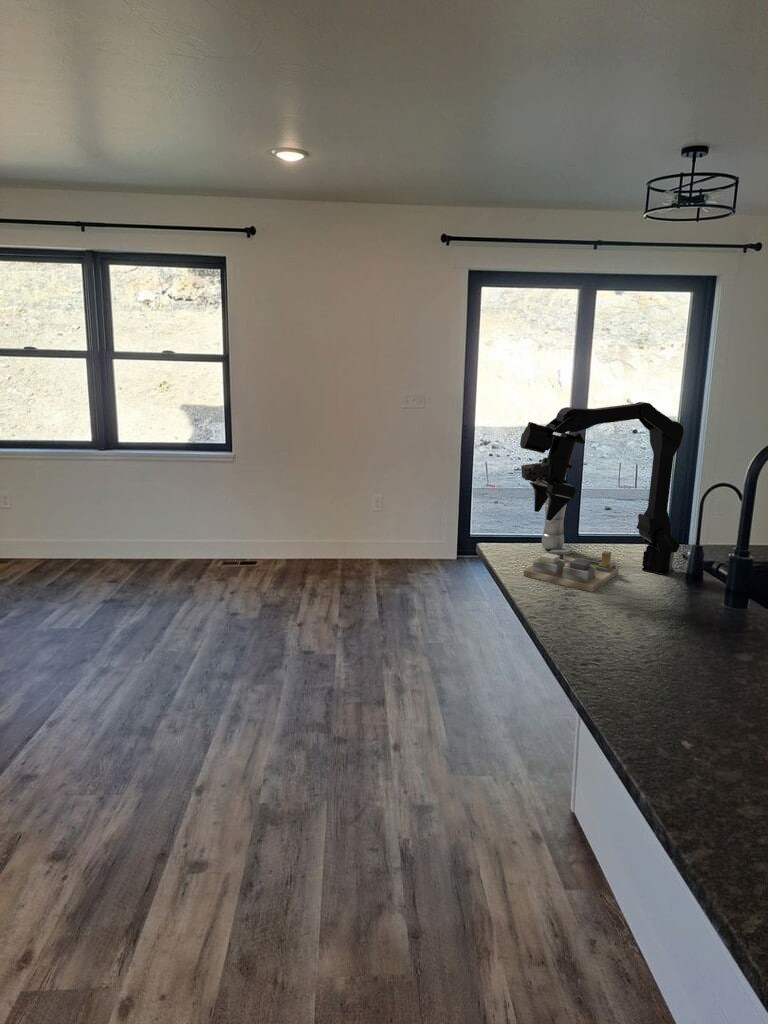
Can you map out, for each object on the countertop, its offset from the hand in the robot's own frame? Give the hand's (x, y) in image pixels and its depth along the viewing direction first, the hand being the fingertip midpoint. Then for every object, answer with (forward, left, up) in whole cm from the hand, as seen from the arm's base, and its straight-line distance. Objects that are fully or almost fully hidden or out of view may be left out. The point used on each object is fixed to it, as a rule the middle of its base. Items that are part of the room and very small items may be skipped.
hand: (542, 515), depth 165 cm
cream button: (-4, +2, -12) cm, 12 cm away
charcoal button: (-12, +2, -12) cm, 17 cm away
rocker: (-2, -9, -11) cm, 15 cm away
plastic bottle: (+6, -22, -15) cm, 28 cm away
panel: (-8, -3, -15) cm, 17 cm away
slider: (-14, -9, -13) cm, 22 cm away
